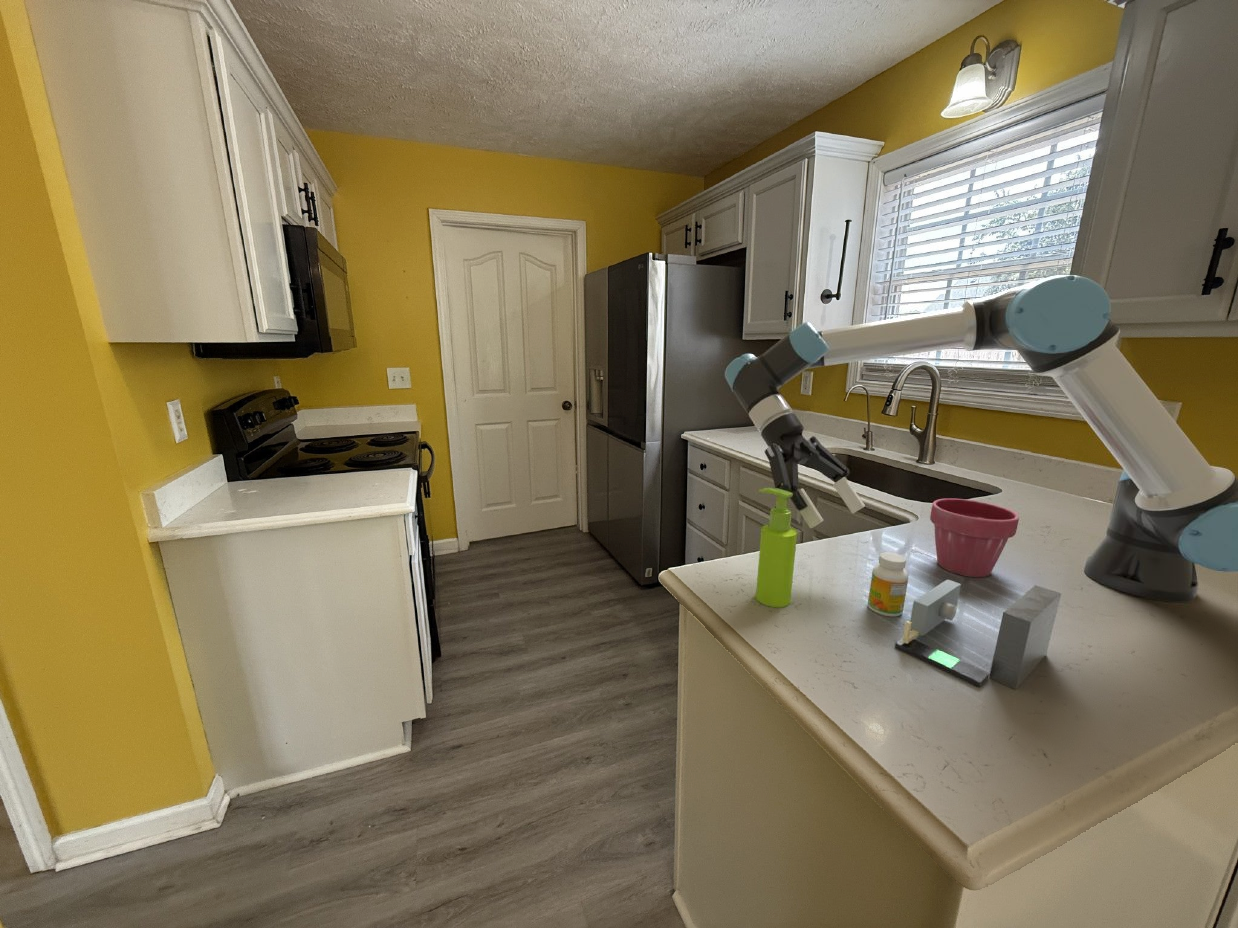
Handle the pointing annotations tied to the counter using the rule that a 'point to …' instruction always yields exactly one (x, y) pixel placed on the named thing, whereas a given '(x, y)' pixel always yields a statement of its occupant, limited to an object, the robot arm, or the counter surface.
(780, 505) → the soap dispenser
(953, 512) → the plant pot
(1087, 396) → the robot arm
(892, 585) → the supplement bottle
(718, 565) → the counter surface
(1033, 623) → the frame
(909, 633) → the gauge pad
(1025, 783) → the counter surface
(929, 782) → the counter surface
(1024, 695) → the counter surface
